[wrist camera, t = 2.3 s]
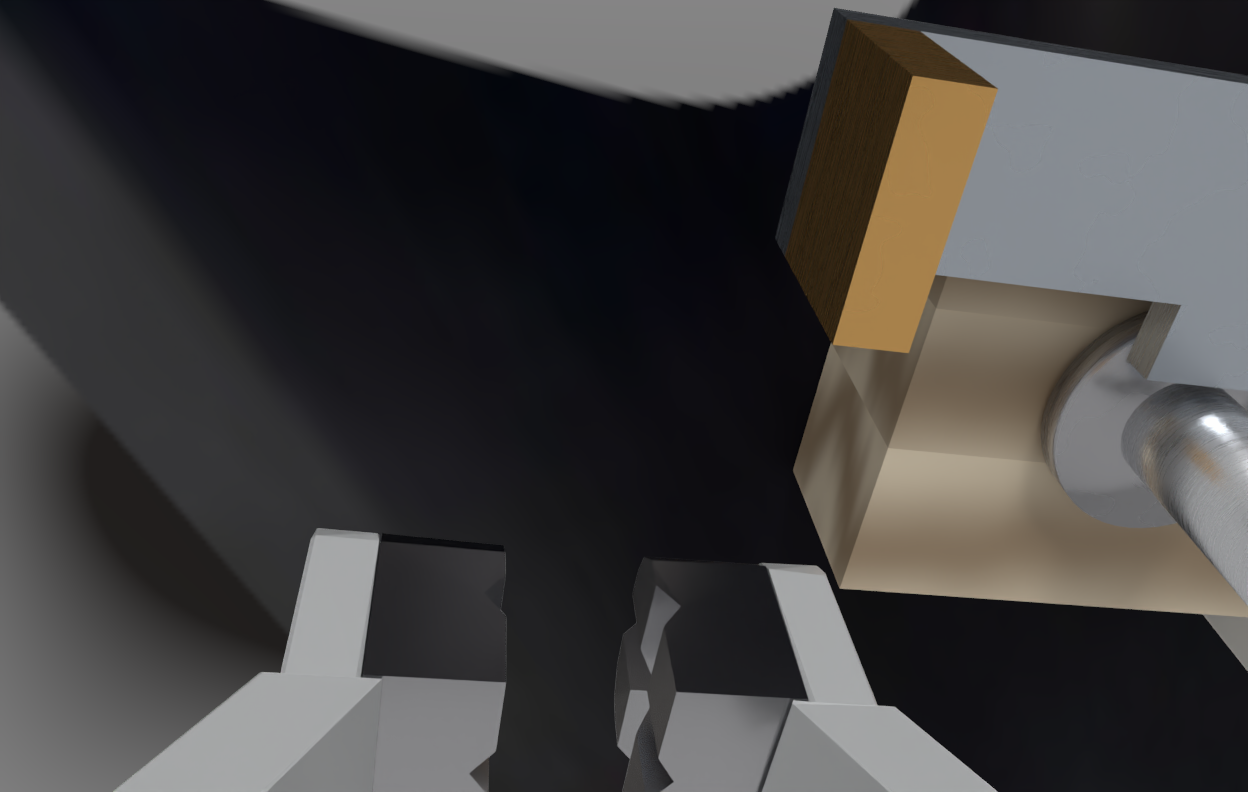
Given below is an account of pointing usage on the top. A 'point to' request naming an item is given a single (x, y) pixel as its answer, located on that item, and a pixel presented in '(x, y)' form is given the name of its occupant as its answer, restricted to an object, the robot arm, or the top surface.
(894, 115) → the keeper plate
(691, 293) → the top surface
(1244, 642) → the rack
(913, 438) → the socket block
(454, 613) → the robot arm
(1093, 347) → the peg
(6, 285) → the top surface
